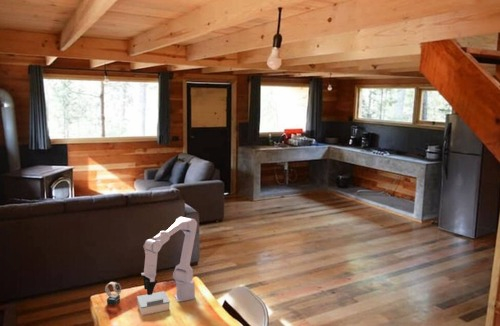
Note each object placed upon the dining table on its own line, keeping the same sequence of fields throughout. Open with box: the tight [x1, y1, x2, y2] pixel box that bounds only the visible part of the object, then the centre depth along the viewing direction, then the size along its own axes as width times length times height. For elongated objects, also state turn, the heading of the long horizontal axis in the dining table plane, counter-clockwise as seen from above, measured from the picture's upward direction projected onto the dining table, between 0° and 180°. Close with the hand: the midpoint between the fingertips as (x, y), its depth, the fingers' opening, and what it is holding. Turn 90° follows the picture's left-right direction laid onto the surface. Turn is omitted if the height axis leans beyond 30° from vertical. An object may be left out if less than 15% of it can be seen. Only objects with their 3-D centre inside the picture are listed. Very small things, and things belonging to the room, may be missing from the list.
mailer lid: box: [136, 290, 171, 308], centre depth 212 cm, size 14×12×2 cm
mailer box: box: [137, 299, 170, 317], centre depth 212 cm, size 14×12×4 cm
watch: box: [104, 281, 122, 306], centre depth 217 cm, size 6×8×11 cm
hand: (148, 291), depth 200 cm, fingers open, 7 cm apart
